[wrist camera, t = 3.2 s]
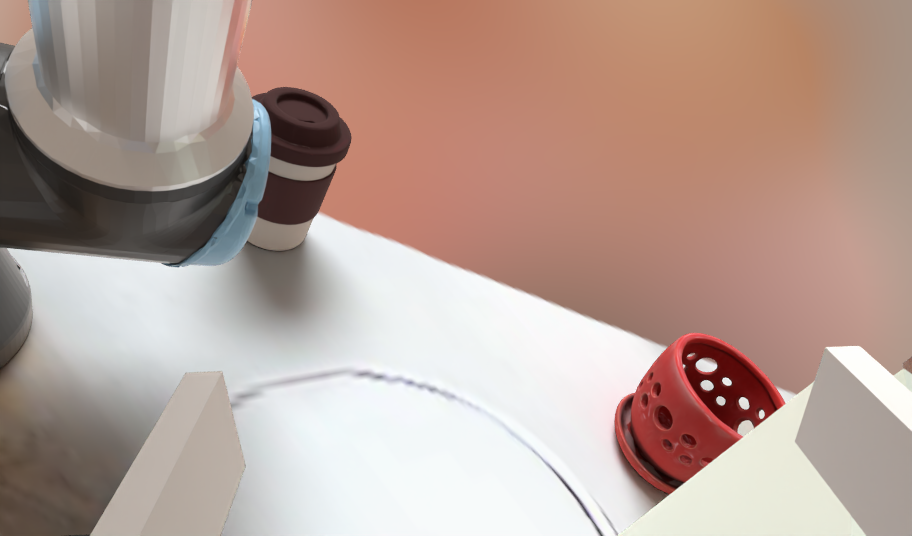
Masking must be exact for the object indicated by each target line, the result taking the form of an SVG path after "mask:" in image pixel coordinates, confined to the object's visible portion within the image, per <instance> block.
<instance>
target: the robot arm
mask: <svg viewBox="0 0 912 536" xmlns="http://www.w3.org/2000/svg"><path fill="white" fill-rule="evenodd" d="M28 4H29V10H30V16H31V22H32V28H31V30H29V31H28V32H27V33H25V34H24V35H23V37H22V38H21V39H20V40H19V42H18V43H17V44H16V46H13V45H8V44H4V43H0V368H1V367H3V366H4V365H5V364H6V363H7V362H8V361H9V360H10V359H11V358H12V357H13V356H14V355H15V354H16V353H17V351H18V350H19V349H20V347H21V346H22V344H23V343H24V341H25V339H26V337H27V335H28V333H29V330H30V327H31V323H32V299H31V289H30V285H29V282H28V279H27V277H26V275H25V273H24V271H23V269H22V268H21V266H20V265H19V264H18V263H17V261H16V260H15V259H14V258H13V257H12V256H11V255H10V253H9V251H8V250H7V248H14V249H24V250H34V251H45V252H55V253H65V254H76V255H86V256H96V257H106V258H117V259H127V260H137V261H148V262H158V263H162V264H164V265H166V266H171V267H179V266H182V267H184V266H188V265H203V266H216V265H221V264H224V263H226V262H228V261H230V260H231V259H233V258H234V257H235V256H236V255H237V254H238V253H239V252H240V251H241V249H242V248H243V247H244V245H245V243H246V242H247V240H248V238H249V236H250V234H251V232H252V229H253V227H254V224H255V222H256V218H257V214H258V204H259V202H260V201H261V200H262V198H263V194H264V191H265V187H266V182H267V177H268V171H269V164H270V155H271V124H270V119H269V115H268V113H267V111H266V109H265V108H264V107H263V105H262V104H261V103H259V102H257V101H256V100H254V99H252V97H251V93H250V89H249V86H248V84H247V82H246V80H245V78H244V76H243V74H242V73H241V71H240V69H239V68H238V66H237V64H238V60H239V55H240V51H241V46H242V42H243V38H244V34H245V30H246V25H247V21H248V17H249V12H250V8H251V4H252V0H28ZM795 443H796V444H797V445H798V447H799V448H800V449H801V451H802V452H803V453H804V455H805V456H806V457H807V459H808V460H809V461H810V463H811V464H812V465H813V466H814V468H815V469H816V470H817V472H818V473H819V474H820V476H821V477H822V478H823V480H824V481H825V482H826V484H827V485H828V486H829V487H830V489H831V490H832V491H833V493H834V494H835V495H836V497H837V498H838V499H839V501H840V502H841V503H842V504H843V506H844V507H845V508H846V510H847V511H848V512H849V514H850V515H851V516H852V518H853V519H854V520H855V522H856V523H857V524H858V525H859V527H860V528H861V529H862V531H863V532H864V533H865V535H866V536H912V392H911V391H909V390H908V389H907V388H906V387H905V386H904V385H903V384H902V383H900V382H899V381H898V380H897V379H896V378H895V377H894V376H893V375H891V374H890V373H889V372H888V371H887V370H886V369H885V368H883V367H882V366H881V365H880V364H879V363H878V362H877V361H876V360H875V359H873V358H872V357H871V356H870V355H869V354H868V353H867V352H866V351H865V350H863V349H862V348H861V347H860V346H846V347H826V348H825V350H824V353H823V356H822V359H821V363H820V365H819V368H818V371H817V375H816V378H815V381H814V384H813V387H812V390H811V393H810V396H809V399H808V402H807V405H806V408H805V411H804V414H803V417H802V421H801V424H800V427H799V430H798V433H797V436H796V439H795ZM245 466H246V465H245V461H244V457H243V453H242V449H241V445H240V441H239V437H238V433H237V429H236V425H235V421H234V417H233V413H232V409H231V405H230V401H229V397H228V393H227V389H226V385H225V381H224V377H223V373H222V371H217V372H192V373H185V375H184V377H183V378H182V380H181V382H180V384H179V385H178V387H177V389H176V390H175V392H174V394H173V395H172V397H171V399H170V401H169V402H168V404H167V406H166V407H165V409H164V411H163V412H162V414H161V416H160V418H159V419H158V421H157V423H156V424H155V426H154V428H153V429H152V431H151V433H150V435H149V436H148V438H147V440H146V441H145V443H144V445H143V446H142V448H141V450H140V451H139V453H138V455H137V457H136V458H135V460H134V462H133V463H132V465H131V467H130V468H129V470H128V472H127V474H126V475H125V477H124V479H123V480H122V482H121V484H120V485H119V487H118V489H117V491H116V492H115V494H114V496H113V497H112V499H111V501H110V502H109V504H108V506H107V507H106V509H105V511H104V513H103V514H102V516H101V518H100V519H99V521H98V523H97V524H96V526H95V528H94V530H93V531H92V533H91V535H69V536H221V533H222V530H223V527H224V524H225V522H226V519H227V516H228V513H229V511H230V508H231V505H232V502H233V500H234V497H235V494H236V491H237V489H238V486H239V483H240V480H241V477H242V475H243V472H244V469H245Z"/></svg>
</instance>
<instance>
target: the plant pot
mask: <svg viewBox="0 0 912 536" xmlns="http://www.w3.org/2000/svg"><path fill="white" fill-rule="evenodd" d="M690 353H695V355H693V356H691V357H687V356H688V355H689V354H690ZM702 358H712V359H714V360H715V361H716V362H717V369H716V370H715V371H713V372H702V371H700V370H698V369H697V368H696V362H697V361H698V360H700V359H702ZM682 364H684V365H686V366H685V368H684V369H683V365H682ZM725 377H726V378H729V379H730V380H731V381H732V384H731V385H730V386H726V385H724V384H723V382H722V379H723V378H725ZM704 380H709V381H711V382H712V383H713V385H714V388H713V389H712V390H710V391H707V390H704V389H703V388H702V387H701V385H700V384H701V382H702V381H704ZM718 396H722V397H723V398H724V399H725V400H726V402H725V404H724V405H723V406H721V405H719V404H717V401H716V398H717V397H718ZM741 397H745V398H746V399H748V402H749V405H750V407H749V409H747V410H744V409H742V408H741V407H740V405H739V399H740V398H741ZM783 405H785V402H784V400H783V398H782V396H781V395H780V393H779V392H778V390H777V389H776V387H775V386H774V385H773V383H772V382H771V381H770V380H769V378H768V377H767V376H766V375H765V374H764V373H763V372H762V371H761V370H760V369H759V368H758V367H757V366H756V365H755V364H754V363H753V362H752V361H751V360H750V359H749V358H748V357H746V356H745V355H744V354H743V353H741V352H740V351H738V350H737V349H736V348H734V347H732V346H731V345H729V344H728V343H726V342H724V341H722V340H720V339H718V338H715V337H712V336H710V335H706V334H701V333H690V334H685V335H683V336H681V337H680V338H679V339H677V340H676V341H675V342H674V343H672V344H671V345H670V346H669V347H668V348H667V349H666V350H665V351H664V352H663V353H662V354H661V355H660V356H659V357H658V358H657V360H656V361H655V362H654V363H653V365H652V366H651V367H650V369H649V370H648V371H647V373H646V374H645V376H644V377H643V379H642V380H641V382H640V384H639V386H638V387H637V390H636V392H635V393H632V394H630V395H627V396H626V397H624V398H623V399H622V400H621V401H620V403H619V405H618V407H617V410H616V414H615V431H616V436H617V439H618V442H619V445H620V447H621V449H622V451H623V453H624V455H625V456H626V458H627V460H628V461H629V463H630V464H631V465H632V467H633V468H634V469H635V470H636V471H637V472H638V473H639V474H640V475H641V476H642V477H643V478H644V479H645V480H646V481H648V482H649V483H650V484H652V485H653V486H655V487H656V488H658V489H660V490H662V491H663V492H666V493H668V494H671V493H672V492H674V491H675V490H676V489H678V488H679V487H680V486H681V485H683V484H684V483H685V482H686V481H688V480H689V479H690V478H692V477H693V476H694V475H695V474H697V473H698V472H699V471H701V470H702V469H703V468H704V467H706V466H707V465H708V464H709V463H711V462H712V461H713V460H715V459H716V458H717V457H718V456H720V455H721V454H722V453H723V452H725V451H726V450H727V449H729V448H730V447H731V446H732V445H734V444H735V443H736V442H738V441H739V440H740V439H741V438H743V436H741V435H740V434H738V433H737V430H738V426H739V424H740V423H741V422H743V421H745V420H750V421H751V422H752V424H753V426H754V428H755V427H757V426H758V425H759V424H760V423H762V422H763V421H764V420H766V419H767V418H768V417H769V416H771V415H772V414H773V413H774V412H776V411H777V410H778V409H780V408H781V407H782V406H783ZM760 410H764V412H765V416H764V418H763V419H760V418H759V411H760Z"/></svg>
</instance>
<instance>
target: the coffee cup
mask: <svg viewBox="0 0 912 536" xmlns="http://www.w3.org/2000/svg"><path fill="white" fill-rule="evenodd" d="M252 99H254V100H256V101H257V102H259V103H261V104H262V105H263V107H264V108H265V109H266V111H267V113H268V115H269V119H270V124H271V155H270V164H269V171H268V177H267V182H266V187H265V191H264V194H263V198H262V200H261V201H260V202H259V204H258V214H257V218H256V222H255V224H254V227H253V229H252V232H251V234H250V236H249V238H248V240H247V241H248V242H250V243H251V244H253V245H255V246H257V247H260V248H263V249H267V250H273V251H283V250H289V249H292V248H295V247H296V246H298V245H300V244H301V243H302V242H303V240H304V239H305V237H306V235H307V232H308V230H309V227H310V225H311V223H312V220H313V218H314V217H315V216H316V215H317V213H318V211H319V209H320V206H321V204H322V202H323V199H324V197H325V194H326V192H327V190H328V187H329V185H330V183H331V180H332V178H333V176H334V173H335V171H336V163H338V162H340V161H341V160H342V159H343V158H344V157H345V156H346V154H347V152H348V149H349V146H350V143H351V133H350V130H349V128H348V126H347V125H346V123H345V122H344V121H343V120H342V119H341V118H340V117H339V114H338V112H337V110H336V109H335V108H334V107H333V106H332V105H331V104H330V103H329V102H327V101H326V100H325V99H323V98H322V97H320V96H318V95H316V94H313V93H311V92H308V91H305V90H302V89H297V88H290V87H281V88H275V89H272V90H270V91H268V92H267V93H263V94H258V95H256V96H253V97H252Z"/></svg>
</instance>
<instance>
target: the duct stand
mask: <svg viewBox="0 0 912 536" xmlns="http://www.w3.org/2000/svg"><path fill="white" fill-rule="evenodd" d="M894 377H895V378H896V379H897V380H898V381H899V382H900V383H902V384H903V385H904V386H905V387H906V388H907V389H908V390H909V391H911V392H912V374H911V373H910V372H908V371H907V370H905V369H902V370H901V371H900V372H898V373H897V374H895V375H894ZM813 384H814V382H813V383H811V384H810V385H809V386H808V387H807V388H805V389H804V390H803V391H801V392H800V393H799V394H797V395H796V396H795V397H794V398H792V399H791V400H790V401H789V402H787V403H786V404H785V405H783V406H782V407H781V408H780V409H778V410H777V411H776V412H774V413H773V414H772V415H771V416H769V417H768V418H767V419H766V420H764V421H763V422H762V423H760V424H759V425H758V426H757V427H755V428H754V429H753V430H752V431H750V432H749V433H748V434H746V435H745V436H744V437H743V438H741V439H740V440H739V441H738V442H736V443H735V444H734V445H732V446H731V447H730V448H729V449H727V450H726V451H725V452H723V453H722V454H721V455H720V456H718V457H717V458H716V459H715V460H713V461H712V462H711V463H709V464H708V465H707V466H706V467H704V468H703V469H702V470H701V471H699V472H698V473H697V474H695V475H694V476H693V477H692V478H690V479H689V480H688V481H686V482H685V483H684V484H683V485H681V486H680V487H679V488H678V489H676V490H675V491H674V492H672V493H671V494H670V495H669V496H667V497H666V498H665V499H664V500H662V501H661V502H660V503H658V504H657V505H656V506H655V507H653V508H652V509H651V510H650V511H648V512H647V513H646V514H644V515H643V516H642V517H641V518H639V519H638V520H637V521H635V522H634V523H633V524H632V525H630V526H629V527H628V528H627V529H625V530H624V531H623V532H621V533H620V534H619V535H618V536H866V535H865V533H864V532H863V531H862V529H861V528H860V527H859V525H858V524H857V523H856V522H855V520H854V519H853V518H852V516H851V515H850V514H849V512H848V511H847V510H846V508H845V507H844V506H843V504H842V503H841V502H840V501H839V499H838V498H837V497H836V495H835V494H834V493H833V491H832V490H831V489H830V487H829V486H828V485H827V484H826V482H825V481H824V480H823V478H822V477H821V476H820V474H819V473H818V472H817V470H816V469H815V468H814V466H813V465H812V464H811V463H810V461H809V460H808V459H807V457H806V456H805V455H804V453H803V452H802V451H801V449H800V448H799V447H798V445H797V444H796V443H795V439H796V436H797V433H798V430H799V427H800V424H801V421H802V417H803V414H804V411H805V408H806V405H807V402H808V399H809V396H810V393H811V390H812V387H813Z"/></svg>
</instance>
